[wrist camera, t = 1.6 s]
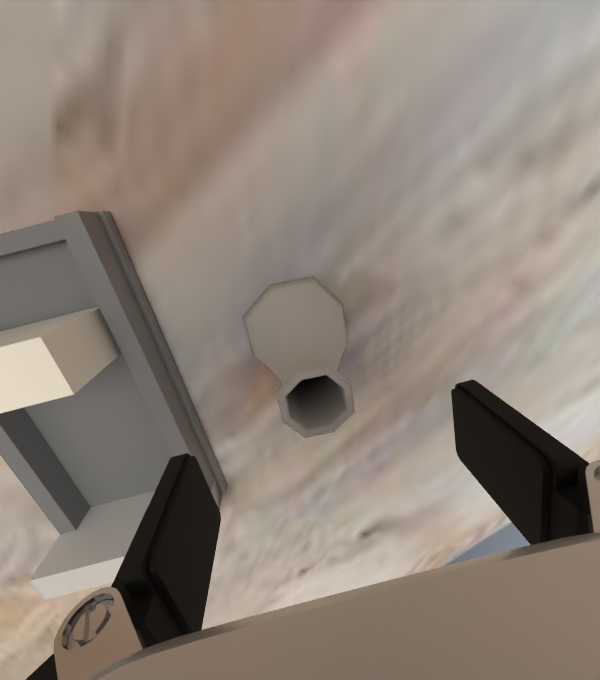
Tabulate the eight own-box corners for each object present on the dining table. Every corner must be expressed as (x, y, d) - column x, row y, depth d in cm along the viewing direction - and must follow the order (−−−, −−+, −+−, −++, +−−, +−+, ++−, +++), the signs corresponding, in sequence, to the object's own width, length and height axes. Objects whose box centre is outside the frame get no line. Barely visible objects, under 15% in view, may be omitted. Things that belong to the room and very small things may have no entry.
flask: (317, 256, 20) (358, 284, 11) (362, 344, 23) (427, 426, 14) (224, 310, 21) (189, 379, 12) (278, 390, 24) (284, 498, 14)
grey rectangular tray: (-88, 262, 18) (-245, 278, 13) (109, 211, 18) (39, 206, 13) (89, 520, 26) (41, 600, 21) (227, 484, 26) (215, 555, 21)
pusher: (-19, 336, 19) (-137, 382, 14) (107, 304, 19) (40, 336, 14) (9, 377, 20) (-91, 436, 15) (127, 347, 20) (74, 394, 15)
